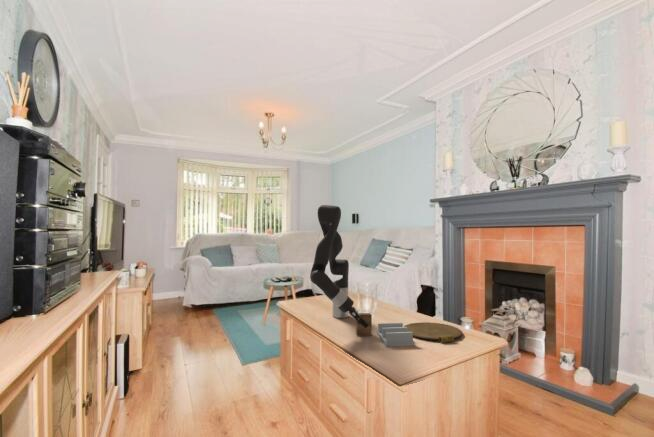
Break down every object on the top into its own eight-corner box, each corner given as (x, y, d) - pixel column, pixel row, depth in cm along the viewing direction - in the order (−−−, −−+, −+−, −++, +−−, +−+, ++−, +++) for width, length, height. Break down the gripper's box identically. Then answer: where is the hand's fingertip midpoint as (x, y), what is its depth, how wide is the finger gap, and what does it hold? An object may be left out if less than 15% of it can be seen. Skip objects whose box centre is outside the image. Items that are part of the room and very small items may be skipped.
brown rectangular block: (356, 333, 154) (356, 313, 155) (369, 333, 155) (369, 312, 155) (357, 336, 151) (357, 315, 151) (371, 335, 152) (371, 314, 152)
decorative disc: (439, 318, 175) (478, 333, 146) (439, 324, 175) (478, 340, 146) (392, 322, 167) (424, 339, 138) (392, 328, 167) (424, 347, 138)
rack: (376, 334, 154) (376, 322, 154) (402, 333, 155) (402, 322, 155) (386, 346, 138) (386, 334, 138) (414, 345, 139) (414, 333, 139)
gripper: (349, 298, 146) (373, 322, 146) (345, 292, 160) (367, 314, 160) (338, 310, 145) (362, 334, 146) (334, 302, 159) (357, 324, 160)
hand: (365, 323), depth 153 cm, fingers open, 8 cm apart
